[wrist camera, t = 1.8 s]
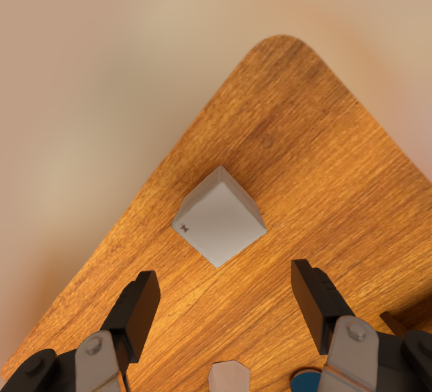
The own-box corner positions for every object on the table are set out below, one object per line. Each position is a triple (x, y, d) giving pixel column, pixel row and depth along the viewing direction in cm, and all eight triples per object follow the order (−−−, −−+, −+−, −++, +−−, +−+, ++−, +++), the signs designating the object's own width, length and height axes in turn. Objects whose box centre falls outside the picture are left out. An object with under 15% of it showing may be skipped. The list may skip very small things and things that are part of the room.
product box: (217, 230, 25) (215, 271, 18) (183, 196, 24) (167, 226, 17) (255, 200, 24) (269, 232, 17) (221, 162, 22) (221, 179, 15)
